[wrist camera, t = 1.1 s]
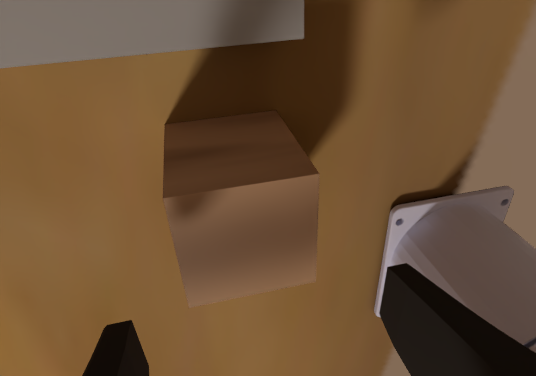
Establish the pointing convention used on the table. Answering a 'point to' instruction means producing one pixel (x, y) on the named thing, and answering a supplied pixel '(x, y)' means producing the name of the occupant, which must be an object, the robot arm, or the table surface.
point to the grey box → (138, 27)
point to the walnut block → (240, 206)
